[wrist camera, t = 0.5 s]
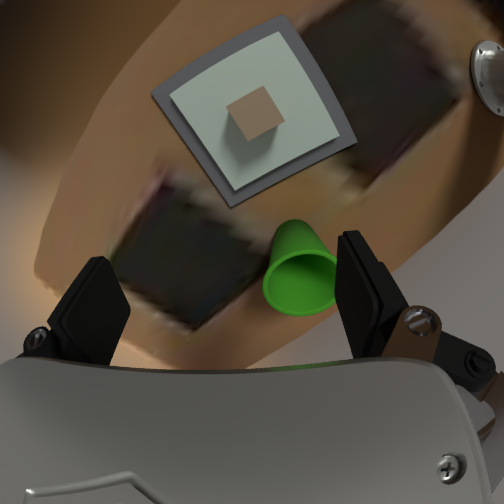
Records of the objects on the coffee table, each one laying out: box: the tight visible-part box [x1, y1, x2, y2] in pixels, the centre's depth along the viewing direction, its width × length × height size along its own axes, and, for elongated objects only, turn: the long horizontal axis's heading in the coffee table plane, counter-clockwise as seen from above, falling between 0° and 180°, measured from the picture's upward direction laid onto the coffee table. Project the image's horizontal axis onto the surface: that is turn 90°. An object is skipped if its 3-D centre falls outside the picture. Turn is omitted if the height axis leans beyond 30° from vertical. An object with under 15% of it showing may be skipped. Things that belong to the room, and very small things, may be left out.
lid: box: [170, 31, 340, 190], centre depth 26 cm, size 14×14×6 cm
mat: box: [150, 14, 357, 207], centre depth 28 cm, size 18×18×1 cm
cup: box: [262, 219, 337, 316], centre depth 33 cm, size 9×9×11 cm
